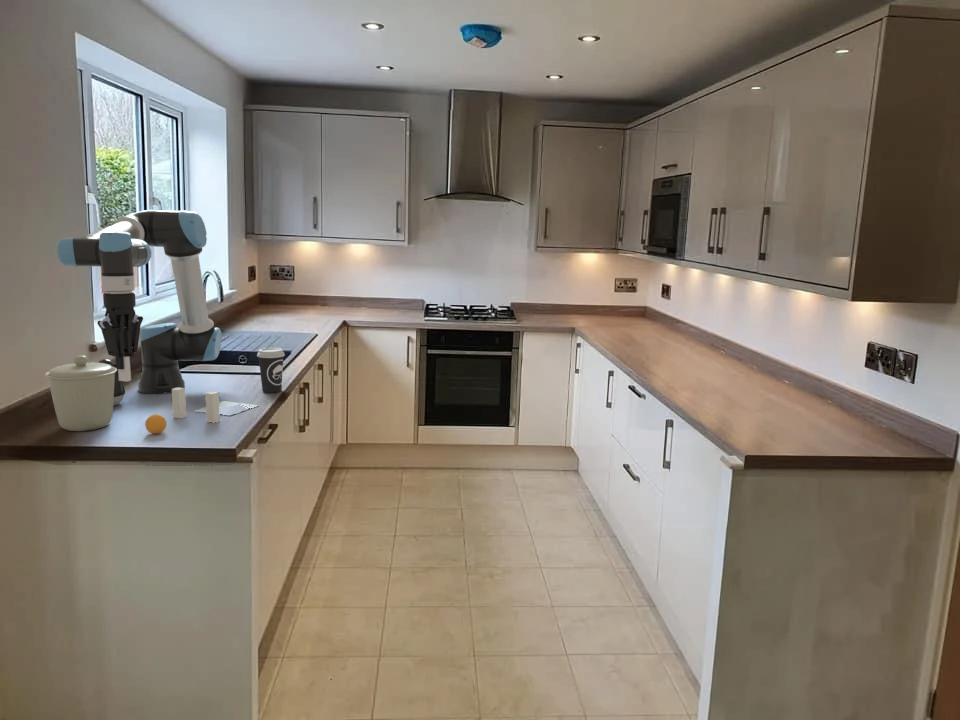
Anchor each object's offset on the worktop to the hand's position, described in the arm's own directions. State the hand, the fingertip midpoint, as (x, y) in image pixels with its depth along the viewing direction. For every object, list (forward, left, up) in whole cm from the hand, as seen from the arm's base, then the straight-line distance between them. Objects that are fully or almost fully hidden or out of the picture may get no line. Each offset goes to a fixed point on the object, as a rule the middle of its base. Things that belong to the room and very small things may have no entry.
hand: (125, 380), depth 191 cm
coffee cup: (-66, -2, -18) cm, 68 cm away
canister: (-7, -23, -18) cm, 30 cm away
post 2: (-26, +6, -17) cm, 32 cm away
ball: (-10, 0, -15) cm, 18 cm away
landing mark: (-40, 0, -17) cm, 43 cm away
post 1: (-26, -6, -17) cm, 32 cm away
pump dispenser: (-28, -37, -18) cm, 50 cm away
